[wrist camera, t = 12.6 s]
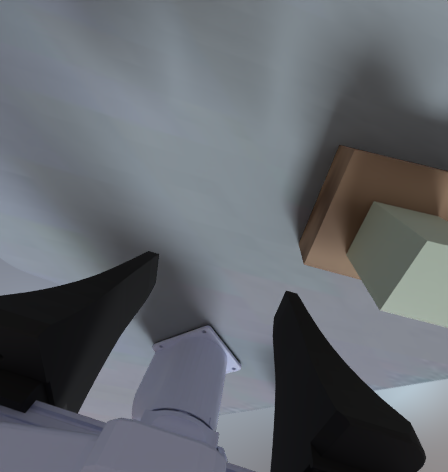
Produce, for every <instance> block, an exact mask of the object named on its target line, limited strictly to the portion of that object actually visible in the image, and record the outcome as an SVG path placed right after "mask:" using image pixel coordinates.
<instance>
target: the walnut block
mask: <svg viewBox="0 0 448 472" xmlns="http://www.w3.org/2000/svg"><path fill="white" fill-rule="evenodd" d="M374 201H375V202H379V203H383V204H388V205H392V206H396V207H400V208H405V209H409V210H413V211H417V212H422V213H426V214H430V215H434V216H439V217H440V218H442V219H444V220H446V221H448V171H445V170H441V169H437V168H433V167H429V166H425V165H420V164H416V163H412V162H408V161H404V160H400V159H396V158H391V157H387V156H383V155H379V154H375V153H371V152H367V151H363V150H358V149H354V148H350V147H346V146H342V145H339V147H338V150H337V152H336V155H335V157H334V159H333V162H332V164H331V167H330V169H329V172H328V174H327V176H326V179H325V181H324V184H323V186H322V189H321V191H320V193H319V196H318V198H317V201H316V203H315V206H314V208H313V210H312V213H311V215H310V218H309V220H308V222H307V225H306V227H305V230H304V232H303V235H302V237H301V239H300V242H299V247H300V251H301V255H302V259H303V263H304V265H308V266H312V267H315V268H319V269H323V270H327V271H330V272H334V273H338V274H341V275H345V276H349V277H352V278H356V279H360V280H361V278H360V277H359V275H358V274H357V272H356V270H355V269H354V267H353V265H352V264H351V262H350V260H349V259H348V257H347V256H346V254H347V252H348V250H349V248H350V246H351V244H352V242H353V240H354V239H355V237H356V235H357V233H358V231H359V229H360V227H361V225H362V223H363V221H364V219H365V217H366V215H367V213H368V211H369V209H370V207H371V206H372V204H373V202H374Z"/></svg>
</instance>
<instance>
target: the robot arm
mask: <svg viewBox="0 0 448 472" xmlns="http://www.w3.org/2000/svg"><path fill="white" fill-rule="evenodd" d="M158 259H159V254H157V253H153V252H150V251H148V252H146V253H144V254H142V255H140V256H138V257H136V258H134V259H132V260H129V261H127V262H125V263H123V264H121V265H119V266H117V267H114V268H112V269H110V270H107V271H105V272H103V273H100V274H97V275H95V276H92V277H89V278H86V279H83V280H80V281H76V282H72V283H68V284H65V285H61V286H57V287H52V288H48V289H43V290H38V291H32V292H26V293H18V294H10V295H3V296H0V472H255V471H252V470H249V469H246V468H243V467H240V466H237V465H234V464H231V463H228V459H227V457H226V454H225V451H224V449H223V448H222V447H219V446H217V444H218V438H219V433H218V432H216V429H217V423H218V417H219V411H220V405H221V399H222V393H223V387H224V381H225V375H226V373H230V372H234V371H238V370H240V369H241V364H240V363H239V362H238V361H237V359H236V358H235V357H234V355H233V354H232V353H231V352H230V350H229V349H228V348H227V347H226V345H225V344H224V343H223V341H222V340H221V339H220V338H219V336H218V335H217V334H216V333H215V331H214V330H213V329H212V327H210V326H208V325H207V326H203V327H201V328H198V329H195V330H192V331H189V332H186V333H184V334H181V335H178V336H175V337H172V338H170V339H167V340H164V341H161V342H158V343H155V344H153V346H152V349H153V350H154V351H155V352H156V353H155V355H154V357H153V359H152V361H151V363H150V365H149V367H148V369H147V371H146V373H145V375H144V377H143V379H142V382H141V384H140V386H139V388H138V390H137V392H136V394H135V397H134V401H133V406H132V419H133V420H131V419H126V418H118V419H113V420H110V421H108V422H107V423H105V422H102V421H99V420H95V419H92V418H89V417H86V416H83V415H80V414H78V412H79V410H80V408H81V406H82V404H83V402H84V400H85V398H86V396H87V394H88V392H89V391H90V389H91V387H92V385H93V383H94V381H95V379H96V378H97V376H98V374H99V372H100V370H101V368H102V367H103V365H104V363H105V361H106V359H107V358H108V356H109V354H110V352H111V351H112V349H113V347H114V346H115V344H116V342H117V341H118V339H119V337H120V336H121V334H122V333H123V331H124V330H125V328H126V327H127V326H128V324H129V323H130V322H131V320H132V319H133V317H134V316H135V315H136V313H137V312H138V311H139V309H140V308H141V306H142V305H143V304H144V302H145V301H146V299H147V298H148V296H149V294H150V293H151V291H152V289H153V287H154V285H155V283H156V276H157V267H158ZM204 330H205V331H204ZM273 347H274V362H275V380H276V390H275V415H274V432H273V448H272V460H271V472H417V471H418V470H419V469H421V467H423V465H424V463H425V460H426V456H425V452H424V450H423V448H422V446H421V444H420V442H419V439H418V437H417V435H416V433H415V431H414V429H413V427H412V425H411V423H410V422H409V421H407V420H406V419H405V418H404V417H403V416H402V415H400V414H399V413H398V412H397V411H396V410H394V409H393V408H392V407H391V406H390V405H388V404H387V403H386V402H385V401H384V400H383V399H381V398H380V397H379V396H378V395H377V394H376V393H375V392H374V391H373V390H372V389H371V388H370V387H369V386H368V385H367V384H365V383H364V382H363V381H362V380H361V379H360V378H359V377H358V375H357V374H356V373H355V372H354V371H353V370H352V369H351V368H350V367H349V366H348V365H347V364H346V363H345V362H344V360H343V359H342V358H341V357H340V356H339V355H338V353H337V352H336V351H335V350H334V349H333V347H332V346H331V345H330V343H329V342H328V341H327V339H326V338H325V337H324V335H323V334H322V332H321V331H320V330H319V328H318V327H317V325H316V324H315V322H314V321H313V319H312V317H311V316H310V314H309V313H308V311H307V309H306V308H305V306H304V304H303V303H302V301H301V299H300V297H299V296H298V294H296V293H293V292H289V291H286V292H285V294H284V296H283V299H282V301H281V303H280V305H279V307H278V310H277V312H276V314H275V316H274V324H273Z"/></svg>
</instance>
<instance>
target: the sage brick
mask: <svg viewBox="0 0 448 472" xmlns="http://www.w3.org/2000/svg"><path fill="white" fill-rule="evenodd" d="M346 256H347V257H348V259H349V260H350V262H351V264H352V265H353V267H354V269H355V270H356V272H357V274H358V275H359V277H360V278H361V280H362V282H363V283H364V285H365V287H366V288H367V290H368V292H369V293H370V295H371V296H372V298H373V300H374V301H375V303H376V305H377V306H378V308H379V310H380V311H384V312H388V313H392V314H396V315H400V316H404V317H408V318H412V319H415V320H419V321H423V322H427V323H431V324H435V325H439V326H443V327H447V328H448V221H446V220H444V219H442V218H440V217H439V216H434V215H430V214H426V213H422V212H417V211H413V210H409V209H405V208H400V207H396V206H392V205H388V204H383V203H379V202H375V201H374V202H373V204H372V206H371V207H370V209H369V211H368V213H367V215H366V217H365V219H364V221H363V223H362V225H361V227H360V229H359V231H358V233H357V235H356V237H355V239H354V240H353V242H352V244H351V246H350V248H349V250H348V252H347V254H346Z"/></svg>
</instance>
